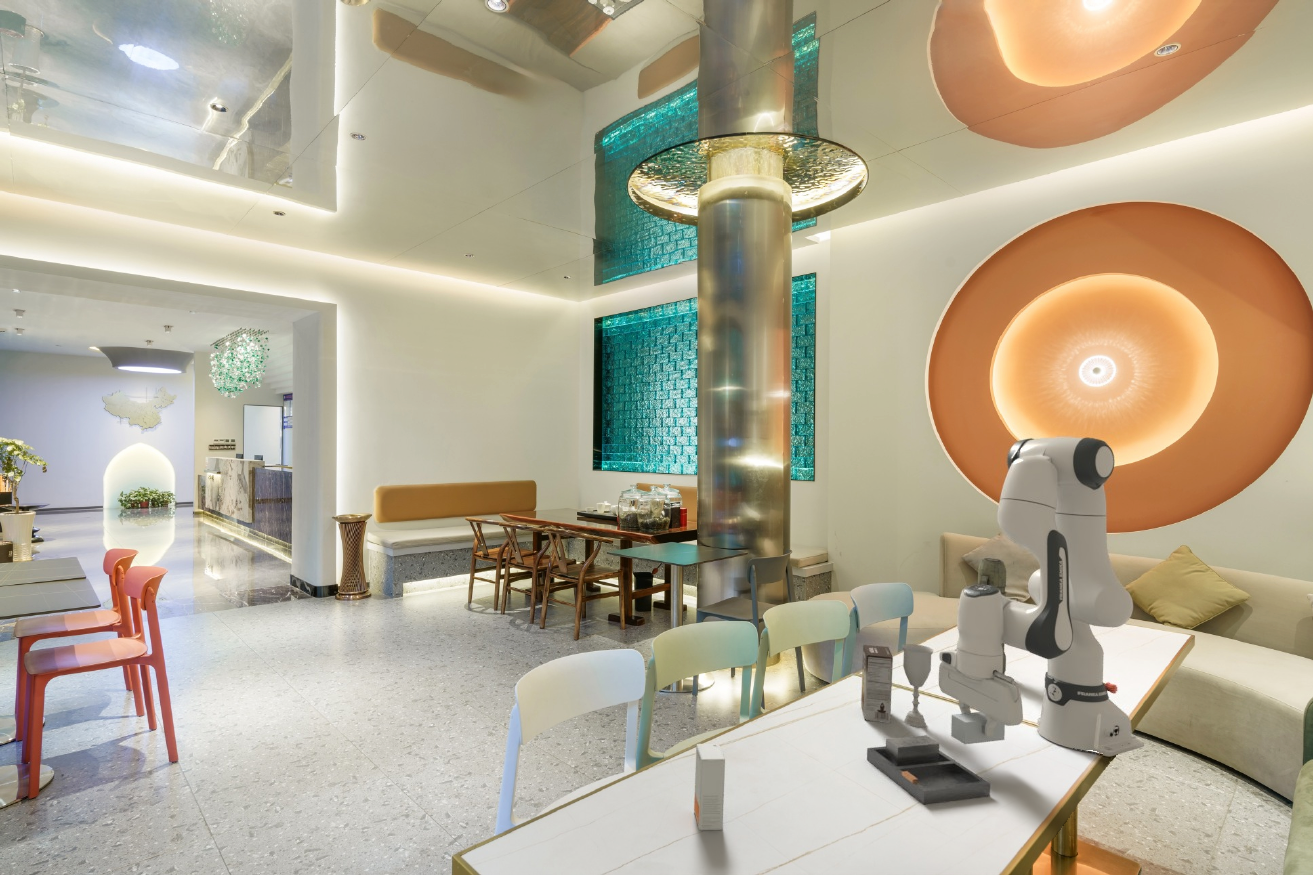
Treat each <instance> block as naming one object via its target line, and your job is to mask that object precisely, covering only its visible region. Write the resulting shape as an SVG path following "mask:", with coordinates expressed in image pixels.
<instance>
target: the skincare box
mask: <svg viewBox="0 0 1313 875" xmlns="http://www.w3.org/2000/svg"><path fill="white" fill-rule="evenodd" d="M695 748H696V751H695V774H694V775H695V778H694V800H693V801H694V802H693V803H694V804H693V805H694V806H693V811H694V815H695V818H696V819H695V820H696V822H697V823H696V824H697V826H698V830H699V831H722V830H723V828H724V827H723V826H724V801H725V800H724V798H725V774H726V773H725V771H726V770H725V768H726V759H725V756H724V753H723V750H722V748H721V746H720V744H719V743H697V744H696V746H695Z"/></svg>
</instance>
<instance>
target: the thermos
mask: <svg viewBox="0 0 1313 875" xmlns="http://www.w3.org/2000/svg"><path fill="white" fill-rule="evenodd" d="M977 569H978V570H977V572H978V574H977V585H990V586H993V587H996V588H998V589H999V590H1000V592H1001V595H1003V596H1005V597H1007V596H1006V593H1007V592H1006V587H1007V568H1006V565H1005V562H1004V561H1002V559H998V558H991V557H990V558H989V557H988V558H987V557H986V558H982V559H981V560H980V563H979V565H978V568H977ZM1001 645H1002V649H1003V674H1004V675H1006V671H1007V669H1006V668H1007V656H1006V652H1005V644H1004V643H1002V644H1001Z"/></svg>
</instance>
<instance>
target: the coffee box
mask: <svg viewBox="0 0 1313 875" xmlns="http://www.w3.org/2000/svg"><path fill="white" fill-rule="evenodd" d="M862 646H863V647H862V648H863V649H862V667H861V668H862V670H861V673H862V675H861V698H860V699H861V700H860V702H861V703H860V708H861V711H862V715H863V719H866V720H865V721H868V720H870V721H869V722H877V721H882V722H881V723H885V722H887V724H890V723H891V713H892V712H891V711H892V710H891V709H892V705H891V704H892V688H893V687H892V686H893V685H892V684H893V666H894V665H893V663H894V661H893V660H894V657H893V655H892V652H891V649H890V647H889V646H882V645H871V644H870V645H869V644H863V645H862Z"/></svg>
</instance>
